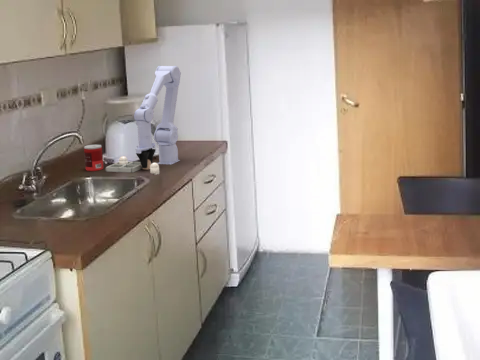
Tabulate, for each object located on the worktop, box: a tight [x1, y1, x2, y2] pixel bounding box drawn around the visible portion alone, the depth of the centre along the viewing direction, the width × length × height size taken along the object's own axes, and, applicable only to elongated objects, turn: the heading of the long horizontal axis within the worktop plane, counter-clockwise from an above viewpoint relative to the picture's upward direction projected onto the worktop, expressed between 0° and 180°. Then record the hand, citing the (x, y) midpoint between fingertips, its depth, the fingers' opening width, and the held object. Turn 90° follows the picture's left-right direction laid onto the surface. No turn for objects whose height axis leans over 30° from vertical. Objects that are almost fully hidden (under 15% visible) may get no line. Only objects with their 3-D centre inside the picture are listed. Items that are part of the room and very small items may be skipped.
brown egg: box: [142, 159, 151, 171], centre depth 297 cm, size 4×4×5 cm
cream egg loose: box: [149, 162, 160, 176], centre depth 289 cm, size 4×4×5 cm
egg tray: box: [105, 161, 143, 174], centre depth 298 cm, size 13×13×2 cm
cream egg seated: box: [118, 155, 129, 164], centre depth 302 cm, size 4×4×5 cm
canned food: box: [83, 144, 104, 172], centre depth 299 cm, size 8×8×11 cm
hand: (146, 166), depth 297 cm, fingers closed on brown egg, 4 cm apart
